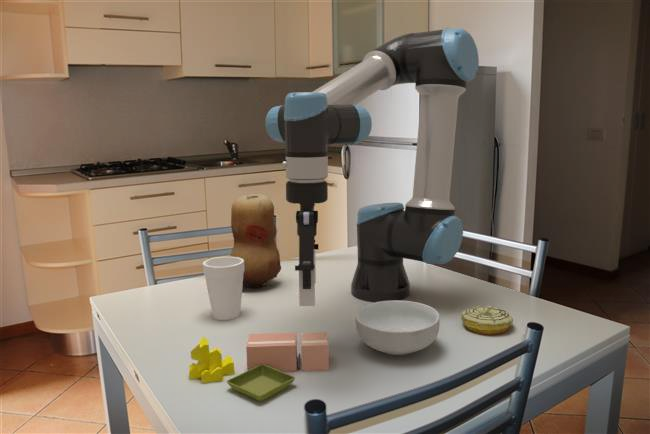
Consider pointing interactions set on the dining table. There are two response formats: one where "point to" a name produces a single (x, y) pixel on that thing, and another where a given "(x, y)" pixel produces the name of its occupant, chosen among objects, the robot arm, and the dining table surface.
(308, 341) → the pink box
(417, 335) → the cereal bowl
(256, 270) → the butternut squash
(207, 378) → the yellow faceted figurine
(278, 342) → the pink striped box
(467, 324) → the decorated donut
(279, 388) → the green square tray
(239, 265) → the foam cup
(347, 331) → the dining table surface
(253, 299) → the dining table surface
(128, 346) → the dining table surface
